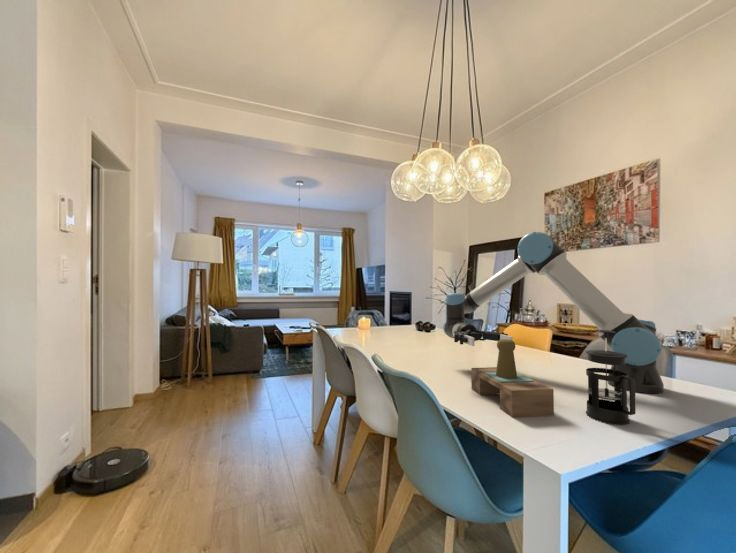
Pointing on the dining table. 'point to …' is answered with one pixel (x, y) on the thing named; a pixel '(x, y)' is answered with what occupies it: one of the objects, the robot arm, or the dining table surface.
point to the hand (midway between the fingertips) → (492, 341)
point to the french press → (605, 408)
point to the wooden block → (514, 393)
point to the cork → (506, 359)
